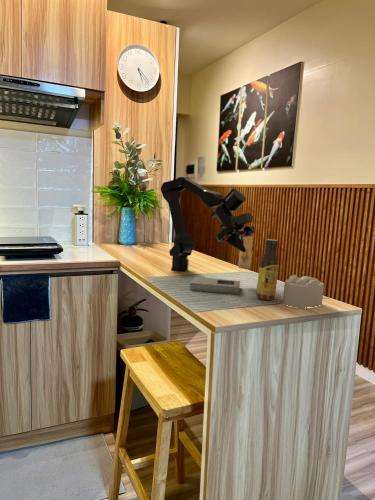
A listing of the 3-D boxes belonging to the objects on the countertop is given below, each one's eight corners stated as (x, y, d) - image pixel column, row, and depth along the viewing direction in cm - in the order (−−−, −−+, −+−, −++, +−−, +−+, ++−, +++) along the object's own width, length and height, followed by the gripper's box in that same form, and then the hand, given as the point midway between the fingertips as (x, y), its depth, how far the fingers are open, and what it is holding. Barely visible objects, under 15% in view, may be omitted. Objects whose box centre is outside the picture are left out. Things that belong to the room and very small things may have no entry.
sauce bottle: (263, 301, 120) (269, 241, 117) (252, 296, 125) (257, 238, 122) (279, 300, 123) (285, 240, 120) (267, 295, 128) (272, 238, 125)
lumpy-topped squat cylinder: (326, 305, 120) (329, 279, 119) (300, 310, 113) (303, 283, 111) (300, 297, 128) (302, 272, 127) (274, 301, 121) (276, 275, 120)
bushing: (238, 268, 138) (240, 236, 136) (238, 266, 142) (241, 235, 141) (250, 269, 137) (252, 237, 136) (250, 267, 142) (252, 236, 140)
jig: (190, 289, 130) (190, 282, 129) (194, 283, 139) (194, 276, 139) (238, 294, 127) (239, 287, 127) (239, 287, 137) (240, 281, 136)
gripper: (225, 204, 132) (249, 239, 127) (253, 205, 146) (276, 236, 140) (207, 224, 139) (228, 258, 133) (235, 223, 152) (256, 253, 147)
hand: (248, 251), depth 138 cm, fingers closed on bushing, 4 cm apart
